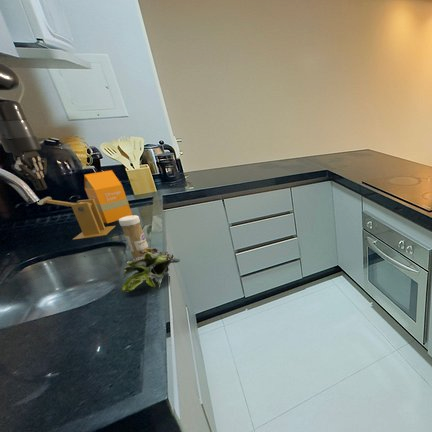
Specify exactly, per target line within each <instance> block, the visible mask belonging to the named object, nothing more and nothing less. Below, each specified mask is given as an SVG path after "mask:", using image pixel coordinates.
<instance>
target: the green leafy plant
mask: <svg viewBox="0 0 432 432" xmlns="http://www.w3.org/2000/svg"><path fill="white" fill-rule="evenodd" d="M139 253H142V254H143V255H144V257H143V256H141V257H137V258H136V259H134V260H132V261H127V262H126V264H127V266H124V267H122V268H123V270H124V273H123V274H122V279H125V278H126V277H127V276H129V275H130V274H132V275H130V276H129V277H128V278H127V279H126V281H125V282H124V283H123V285H122V288H121V292H122V293H124V294H125V293H129V292H132V291H133V290H136V289H137V287H139V286H140V285H142V283H144V282H145V283H146V284H147V285H148V286H149V287H151V288H156V284H155V283H154V280H155V282H156V283H157V284H158V288H157V290H158V291H159V290H160V287H161V284H162V281H163V278H164V277H165V273H167V272H169V271H170V268H169V266H170V264H176V263H180V261H181V259H180V258H176V257H174V254H170V253H169V251H165V252H164V251H160V252H159V249H158V248H157V247H155V248H149V249H146V250H144V251H140V252H139ZM153 279H154V280H153Z"/></svg>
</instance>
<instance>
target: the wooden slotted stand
mask: <svg viewBox="0 0 432 432" xmlns="http://www.w3.org/2000/svg"><path fill="white" fill-rule="evenodd" d="M80 202H86V203H80ZM75 203H76V204H71V206H72V207H71V206H70V207H71V209H72V211H73V213H74V216H75V218H76V220H77V223H78V225H79V228H80V230H81V232H80V233H79V234H78V235H76V236H75V237H74V238H72V240H73V241H74V240H82V239H89V238H95V237H103V236H107V235H108V234H109V233H110V232H111V231H112V230H113V229H114V228H116V225H110V226H105V223H104V222H103V221H102V218H101V215H100V213H99V210H98V208H97V205H96V203H95V200H94V199H89V198H88V199H80V200H77V201H76V202H75ZM89 203H92V205H91V207H90V204H89Z"/></svg>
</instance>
